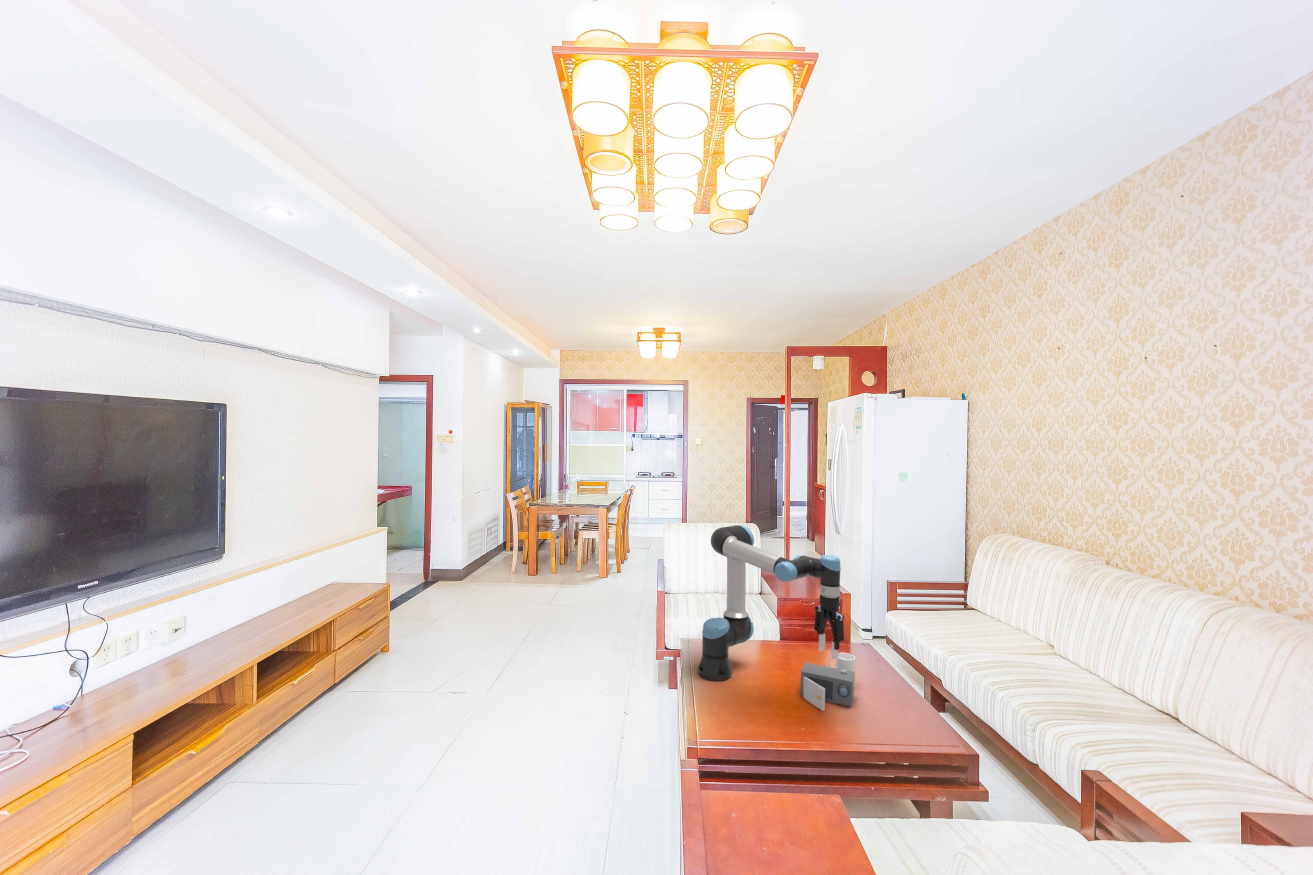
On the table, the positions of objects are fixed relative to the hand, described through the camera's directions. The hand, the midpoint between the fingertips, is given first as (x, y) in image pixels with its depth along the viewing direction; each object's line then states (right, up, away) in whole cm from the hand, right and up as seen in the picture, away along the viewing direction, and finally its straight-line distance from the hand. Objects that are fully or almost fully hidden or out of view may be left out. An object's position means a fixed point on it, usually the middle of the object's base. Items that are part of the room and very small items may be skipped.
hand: (828, 653), depth 212 cm
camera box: (+2, -21, +9) cm, 23 cm away
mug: (+13, -22, +22) cm, 33 cm away
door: (-6, -21, +2) cm, 22 cm away
